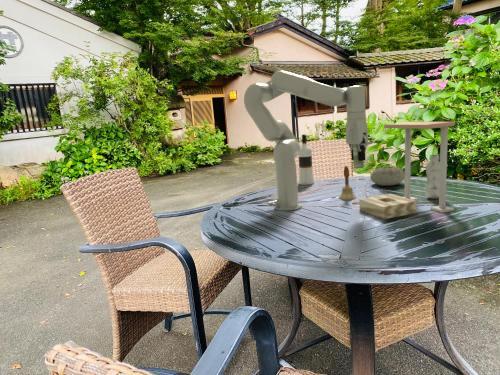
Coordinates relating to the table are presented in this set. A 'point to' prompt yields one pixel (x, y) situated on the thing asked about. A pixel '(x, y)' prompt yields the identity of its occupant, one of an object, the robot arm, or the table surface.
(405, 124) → the two-post wooden stand
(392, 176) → the grey rounded lump
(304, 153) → the vodka
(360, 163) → the peg
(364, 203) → the socket block
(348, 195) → the hand bell
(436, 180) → the plastic bottle
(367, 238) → the table surface
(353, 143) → the robot arm
